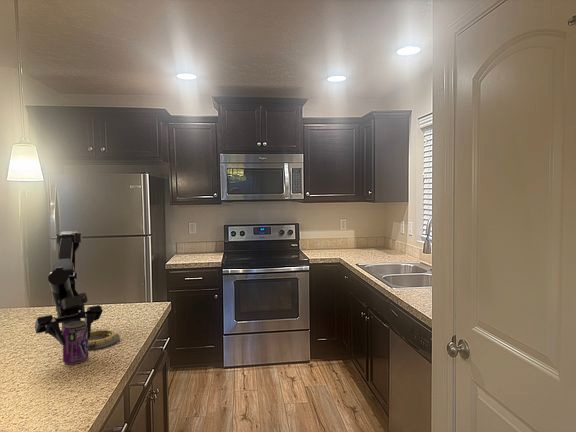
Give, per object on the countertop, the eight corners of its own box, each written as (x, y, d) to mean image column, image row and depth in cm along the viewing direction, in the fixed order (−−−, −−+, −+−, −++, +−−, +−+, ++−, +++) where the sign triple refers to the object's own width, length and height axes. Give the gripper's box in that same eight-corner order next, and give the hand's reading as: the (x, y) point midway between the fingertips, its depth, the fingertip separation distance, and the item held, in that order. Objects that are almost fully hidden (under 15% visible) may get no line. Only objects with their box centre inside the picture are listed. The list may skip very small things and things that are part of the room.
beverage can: (77, 366, 119) (76, 327, 118) (57, 364, 120) (56, 326, 119) (93, 356, 126) (92, 320, 125) (74, 355, 127) (73, 319, 126)
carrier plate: (62, 347, 134) (62, 339, 134) (98, 332, 148) (98, 326, 148) (94, 353, 129) (94, 345, 128) (128, 337, 142) (128, 331, 142)
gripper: (35, 291, 118) (47, 335, 110) (99, 281, 131) (113, 320, 124) (30, 311, 124) (40, 355, 116) (92, 300, 137) (105, 338, 130)
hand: (76, 341), depth 121 cm, fingers closed on beverage can, 7 cm apart
